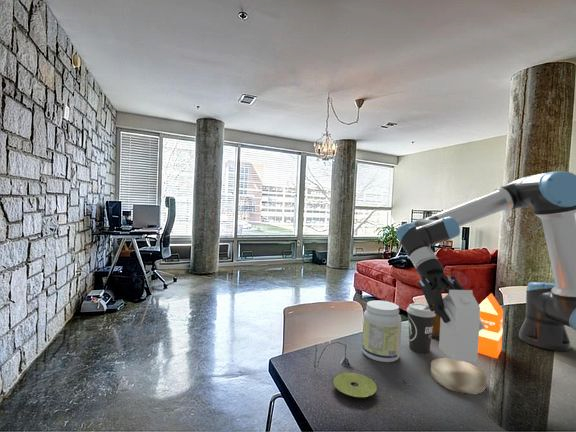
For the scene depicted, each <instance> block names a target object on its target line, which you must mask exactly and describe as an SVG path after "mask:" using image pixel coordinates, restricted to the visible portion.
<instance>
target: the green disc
mask: <svg viewBox="0 0 576 432" xmlns="http://www.w3.org/2000/svg"><path fill="white" fill-rule="evenodd" d="M332 384H333V385H334V387H335V388H336V389H337V390H338V391H339V392H341V393H343V394H345V395H347V396H351V397H355V398H367V397H370V396H373V395H374V394H375V393H376V392H377V389H378V388H377V385H376V383H375V381H374V380H373V379H372V378H370V377H368V376H366V375H364V374H361V373H355V372H343V373H340V374H337V375H336V376H335V377H333V383H332Z"/></svg>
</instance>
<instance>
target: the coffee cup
mask: <svg viewBox="0 0 576 432" xmlns="http://www.w3.org/2000/svg"><path fill="white" fill-rule="evenodd" d="M406 312H407V320H408V321H407V322H408V324H407V325H408V341H409V342H408V343H409V349H410V350H412V351H414V352H416V353H419V354H427V353H430V351H431V349H430V348H431V344H432V343H431V342H432V337H431V336H432V329H433V322H434V317H435V316H436V314H435V313H434V311H433V312H432V311H431V310H430V309H429V306H428V304H424V303H415V302H414V303H409V305H408V306H407V308H406Z"/></svg>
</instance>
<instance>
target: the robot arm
mask: <svg viewBox="0 0 576 432" xmlns="http://www.w3.org/2000/svg"><path fill="white" fill-rule="evenodd" d="M521 208H532V211H533V214H534V216H536V217H537V218H539V219H540V221H541V224H542V225H541V226H542V229H543V233H544V239H545V242H546V248H547V253H548V258H549V260H550V267H551V271H552V274H553V281H554V282H543V281H530V282H529V283H527V285H526V286H527V287H526V290H525V292H526V295H525V296H526V297H525V316H524V317H525V318H524V321H523V323H522V325H521V327H520V329H519V330H518V331H519V332H518V338H519V337H520V338H519V340H521V341H523V342H524V343H526V344H529V345H531V346H534V347H538V348H540V349H544V350H545V349H546V350H549V351H556V352H567V351H568V352H569V351H570V350H571V341H570V338H569V335H568V332H567V328H566V327H569V328H571V329H573V331H576V216H575V214H576V174H574V173H573V172H570V171H564V170H559V171H558V170H557V171H556V170H555V171H548V172H544V173H543V172H542V173H537V174H530V175H526V176H523V177H520V178H518V179H515V180H514V181H513V180H512V181H511V182H508V183H506V184H504V185H502V186H499V187H497V188H495V189H494V191H493V192H490V193H489V194H485V195H483V196H480V197H478V198H475V199H472V200H469V201H467V202H465V203H462V204H459V205H457V206H453V207H451V208H448V209H446V210H443V211H441V212H438V213H435V214H434V215H431V216H428V217H425V218H418V219H415V220H414V221H413V222H410V223H409V222H407V223H403V224H402V225H401V226H399V227H398V228H397V229H396V232H395V236H396V237H397V240H398V241H399V245H400V246H401V247H402V248H403V250H404V251H405V253H406V255H407V256H408V258H409V260H410V261H411V263H412V265H413V266H414V268H415V269H416V272H417V274H418V275H419V277H420V280H418V283H417V284H418V285H419V286H420V289H421V290H422V293H423V295H424V298H425V300H426V303H427V305H428V306H429V309H430V310H431V311H432V312H433V311H434V313H435V314H438V313H439V315H440V317H441V318H442V320H443V322H444V323H446V325H447V326H448V328H449V330H450V332H451V333H452V335H453V336H454V335H456V334H458V333H459V332H461V330H460V328H459V326H458V325H457V323H456V322H455V320H454V318H453V317H452V315H451V313H450V312H449V310H448V309H445V307H444V303H443V298H444V297H443V294H442V292H444V294H447V295H448V294H449V290H465V288H464V287H463V286H462V285H461V284H460V283H459V282H458V280H457V278H456V277H455V276H454V275H452V276H451V277H450V276H449V277H448V276H447V275H446V274H445V273H444V271H445V270H444V269H445V268H444V266H443V264H442V262H441V261H440V260H439V259H438V257H437V255H436V254H435V252H434V251H433V249H432V248H431V247H432V246H435V245H438V244H441V243H444V242H447V241H451V240H452V239H454V238H457V237H459V236H460V234H461V228H460V227H461V226H465V225H468V224H469V223H472V222H476V221H478V220H481V219H483V218H486V217H488V216H491V215H494V214H496V213H499V212H501V211H504V212H509V211H513V210H515V209H521ZM444 309H445V310H444ZM484 328H485V326H484V324H483V323H482V321H481V320H480V322H479V331H480V330H482V329H484Z"/></svg>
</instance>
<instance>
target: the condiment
mask: <svg viewBox="0 0 576 432" xmlns="http://www.w3.org/2000/svg"><path fill="white" fill-rule="evenodd" d="M440 319H441V317H440V315H439V313H438V314H436V316H435V317H434V322H433V329H432V336H431V339H435V340H437V341H439V339H440Z"/></svg>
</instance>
